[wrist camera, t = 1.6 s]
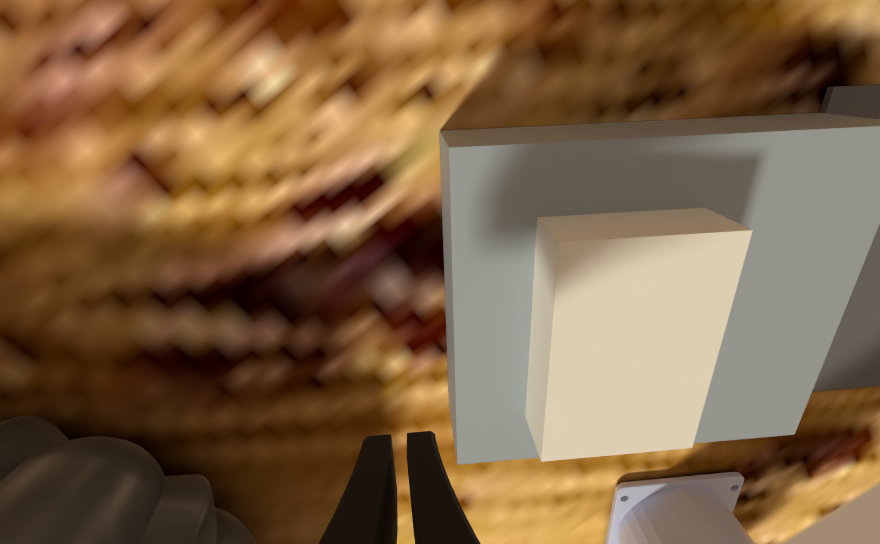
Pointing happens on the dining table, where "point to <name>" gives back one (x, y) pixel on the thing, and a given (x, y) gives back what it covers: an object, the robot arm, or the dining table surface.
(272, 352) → the dining table surface
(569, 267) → the cream rectangular block
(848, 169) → the grey flat block
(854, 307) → the mat
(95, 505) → the bundt pan
